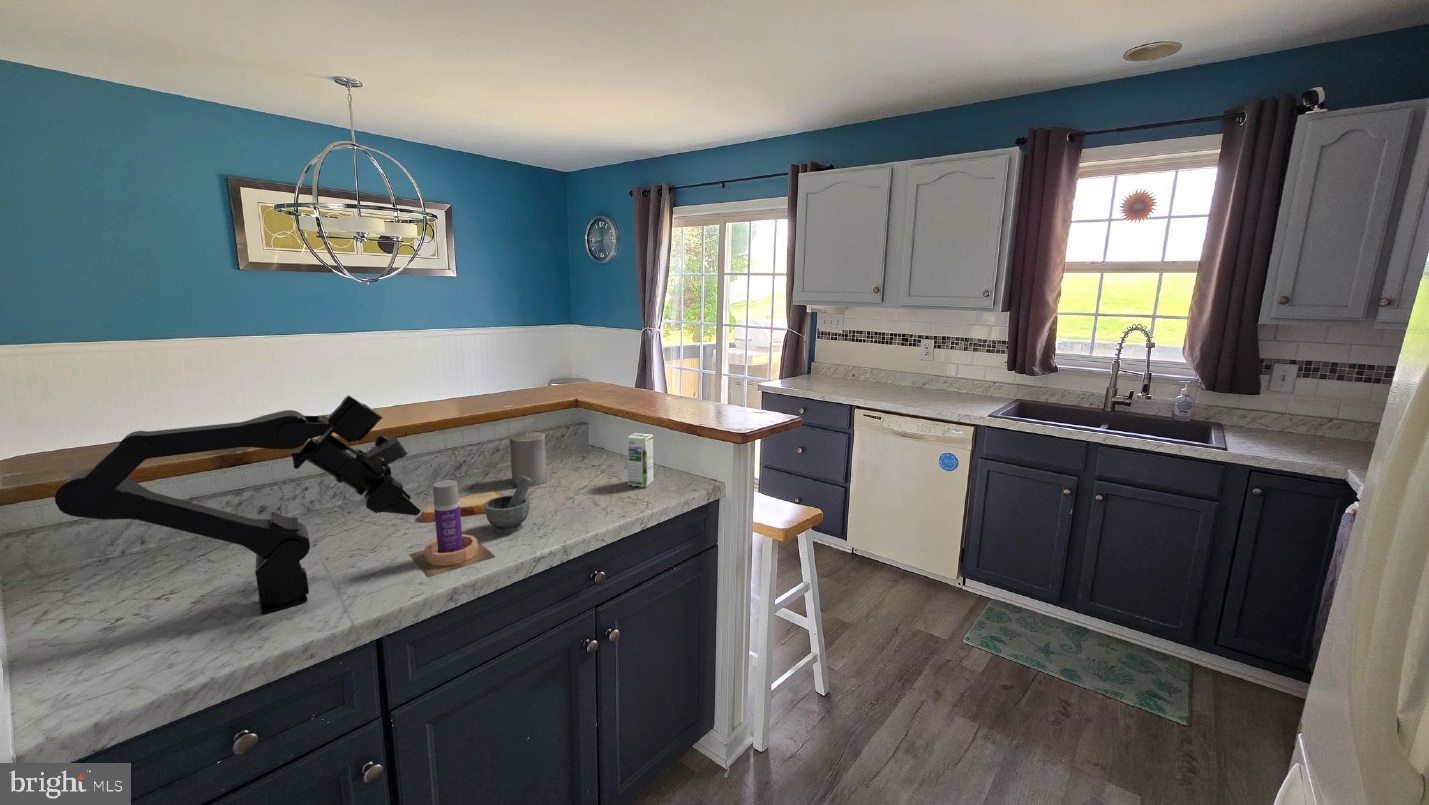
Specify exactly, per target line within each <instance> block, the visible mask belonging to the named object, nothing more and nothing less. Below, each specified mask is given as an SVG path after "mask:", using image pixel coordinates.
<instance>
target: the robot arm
mask: <svg viewBox="0 0 1429 805" xmlns="http://www.w3.org/2000/svg"><path fill="white" fill-rule="evenodd" d="M382 419H383V416H382V415H381V414H379V413H377V411H376V410H374V409H372V408H371V407H370V406H368V404H365V403H362V402H360V401H358V400H357V399H356V398H354V397H352V396H351V395H346V397H344V398H343V399H342V401H341V403H340V404H339V405H338V406H337V407H336V408H335V410H333V411H332V412H331V413H330V414H329V415H328V416H327V415H305V414H303V413H301V412H300V411H297V410H293V409H292V410H291V409H285V410H281V411H276V412H273V413H269V414H265V415H260V416H258V417H255V418H252V419H251V418H250V419H249V420H245V421H240V422H239V421H238V422H230V423H228V422H227V423H222V424H221V423H220V424H211V425H209V424H208V425H200V426H198V425H197V426H190V427H181V428H170V429H169V428H168V429H161V430H160V429H159V430H151V431H150V430H149V431H148V430H136V431H132V432H130V433H129V434H126V436H125V437H123V439H122V440H121V441H120V442H119V443H118V445H117V446H116V447H114V448H113V449H112V450H111V451H110V452H109V453H108V454H107V455H106V456H105V457H103V458H102V460H100V462H98V463H97V464H96V465H95V466H94V467H90V468H89V467H88V468H86V469H82V470H79V471H77V472H76V473H74V474H72V476H71V477H69V478H68V479H67V480H66V481H65V482H64V483H63V484H62V485H60V487H59V488H58V489H57V490H56V493H55V494H54V502H55V505H56V507H57V508H58V510H59V511H60V512H62V513H63V514H65V515H68V516H70V517H74V518H75V517H76V518H85V519H94V520H95V519H96V520H102V521H103V520H105V521H106V520H110V521H111V520H112V521H113V520H115V521H116V520H136V521H140V522H144V523H148V524H152V525H157V526H161V527H164V528H165V527H166V528H169V529H174V530H177V531H181V532H185V533H189V534H194V535H198V536H203V537H206V538H210V539H214V540H219V541H223V542H226V543H231V544H234V545H239V546H242V547H244V548H245V549H247V550H249V551H251V553H254V554H255V571H254V573H255V579H256V586H257V591H258V592H257V594H258V598H257V600H258V605H259V610H260V614H262V615H265V614H268V613H272V612H276V611H279V610H282V609H285V608H289V607H293V606H296V605H299V604H300V605H301V604H303V603H306V602H308V601H309V600H308V599H309V598H308V596H307V595H309V593H310V590H309V583H308V582H309V581H308V574H307V571H306V568H305V567H302V565H301V562H300V561H301V560H303V559H304V558H306V556H307V555H308V554H309V551H310V549H311V543H310V537H309V532H308V531H309V530H308V529H307V527H306V525H304V524H303V523H301V522H299V520H298V517H288V516H285V515H282V514H280V513H277V512H276V511H275V512H274V511H272V512H270V516H269V518H264V519H262V518H261V519H260V518H258V519H256V518H251V517H247V516H243V515H240V514H236V513H231V512H227V511H223V510H220V509H218V508H217V509H216V508H213V507H209V506H205V505H202V504H199V503H195V502H192V501H191V502H190V501H187V500H184V499H179V498H175V497H172V496H169V495H164V494H161V493H157V492H155V491H151V490H149V489H148V488H146V487H144V486H142V485H141V484H140V483H138V482H136V481H135V480H133V479H131V478H129V476H130V475H131V474H132V473H133V472H134V471H135V470H136V469H137V468H138V467H139V466H140V465H141V464H142V463H143V462H144V461H146V460H148V459H153V458H154V459H155V458H156V459H157V458H162V457H163V458H164V457H165V458H166V457H172V456H180V455H187V454H189V455H190V454H196V453H204V452H213V451H222V450H230V449H238V448H239V449H240V448H255V449H266V450H291V451H290V452H289V454H290V456H291V458H292V464H293V469H294V470H295V469H296V470H298V469H299V468H301V467H302V465H303V464H304V463H306V462H308V463H310V464H311V465H313V466H315V467H316V468H318V469H320V471H321V470H322V471H323V472H325V473H327V474H328V475H330V476H332V477H333V478H334V481H336V482H338V483H339V484H342V483H343V484H345V485H346V486H348V487H350V488H351V489H353V490H354V491H355V492H356V493H355V494H358V495H359V496H363V501H364V505H365V507H366V508H367V509H368V510H370V511H371V512H373V513H375V514H377V513H379V514H381V513H388V514H399V515H407V516H415V517H417V516H418V515H419V514H421V513H422V511H421V509H419V507H417V505H416V504H414V503H413V502H412V501H411V496H410V494H408V493H407V492H406V491H405V489H404V485H403V483H402V482H401V481H399V480H398V479H397V478H396V477H395V476H392V470H391V469H392V468H391V467H390V466H389V465H390V464H392V463H393V462H395V461H397V460H399V459H403V458H405V457H406V456H407V455H408V453H407V451H406V449H405V448H404V447H403V445H402V443H401V442H400V440H399V439H398V438H397V437H396V436H390V437H386V436H385V435H383V434H380V435H378V436H377V437H375V438H373V439H374V441H373V442H374V446H372V447H371V449H369V450H367V451H366V452H365V451H363V450H362V449H360V448H358V449H357V448H353V447H351V446H350V445H349V444H347V443H346V442H348V443H352V442H354V443H355V442H356V441H358V442H361V441H362V440H363V439H364V438H365V437H366V436H367V435H368V433H370V432H371V431H372V430H373V428H375V427H376V426H377V425H378V423H379V422H380V421H381V420H382ZM333 433H334V434H335V435H337V436H338V437H340V438H341V439H343V440H344V441H346V442H344V441H342V440H341V439H339V438H337V437H335V436H334V435H333ZM300 447H301V448H300ZM297 448H300V449H297ZM293 449H297V450H293Z"/></svg>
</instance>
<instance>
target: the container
mask: <svg viewBox="0 0 1429 805" xmlns="http://www.w3.org/2000/svg"><path fill="white" fill-rule="evenodd" d="M432 492H433V506H434V511H435V522H434V523H435V531H436V532H435V533H436V539H437V545H438V553H449V552H455V551H459V550H462V549H463V541H462V534H463V530H462V529H463V528H462V518H461V515H460V503H459V497H460V495H459V487H458V481H456V480H453V479H444V480H439V481H436V482H434V483H433V484H432Z"/></svg>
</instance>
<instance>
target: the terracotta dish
mask: <svg viewBox="0 0 1429 805" xmlns="http://www.w3.org/2000/svg"><path fill="white" fill-rule="evenodd" d="M462 541H463V549H462V550H459V551H455V552H449V553H438V545H437V538H436V539H433V540H432V541H429V542H428V543H427V544H426V546H425V547H424V549H423V550H424V552H425V558H426V561H427V563H428V564H430V565H433V566H452V565H457V564H461V563H464V562H466V561H469V560H470V559H472V558H473V557H475V556H476V554H477V549H478V542H479V541H478V538H476V537H475V536H474V535H471V534H469V535H468V534H464V533H462ZM477 541H478V542H477Z"/></svg>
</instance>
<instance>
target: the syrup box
mask: <svg viewBox="0 0 1429 805" xmlns="http://www.w3.org/2000/svg"><path fill="white" fill-rule="evenodd" d="M626 443H627V472H628V473H627V483H628V485H632V486H631V487H635V486H639V487H638V488H644V487H645V488H644V489H646V488H648V487H649V486H650V485H651V484H653V483H654V434H652V433H651V434H646V433H639V432H634V433H631V434H630V435H628V436H627V442H626ZM652 482H653V483H652ZM650 483H651V484H650ZM648 485H649V486H648ZM647 486H648V487H647Z"/></svg>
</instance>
